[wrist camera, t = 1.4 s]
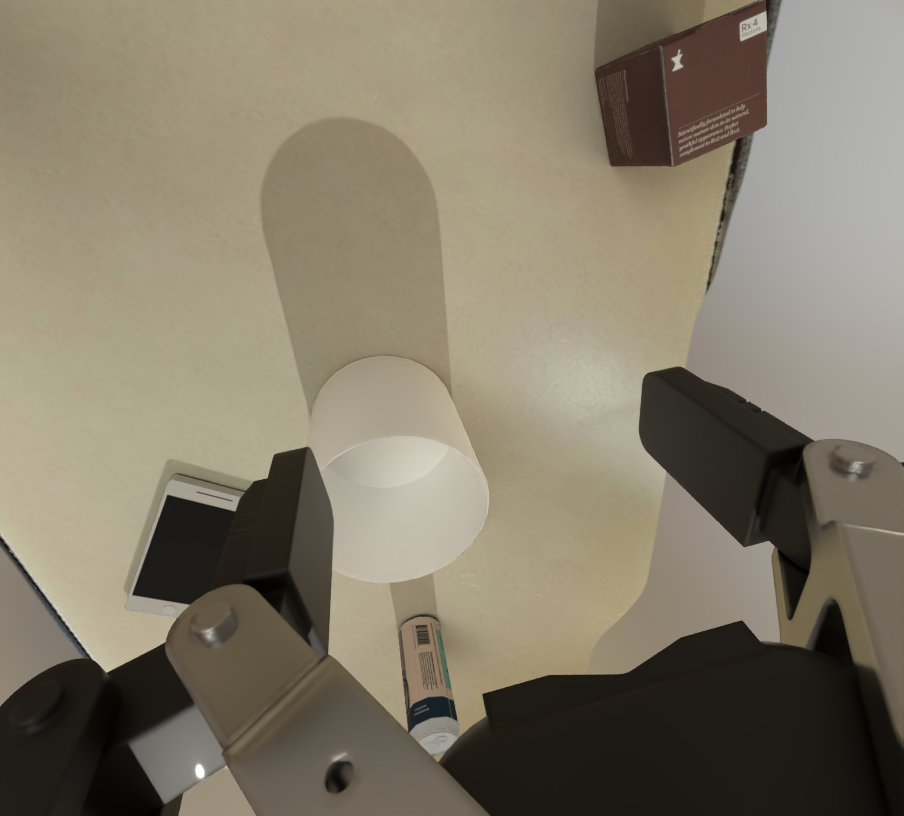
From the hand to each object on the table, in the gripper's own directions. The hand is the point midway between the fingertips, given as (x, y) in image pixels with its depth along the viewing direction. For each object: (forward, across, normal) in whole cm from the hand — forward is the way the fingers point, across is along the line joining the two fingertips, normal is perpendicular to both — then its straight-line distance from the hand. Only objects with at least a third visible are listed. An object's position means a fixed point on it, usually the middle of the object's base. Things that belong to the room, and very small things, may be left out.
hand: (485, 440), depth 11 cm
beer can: (+25, +5, +40) cm, 47 cm away
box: (+25, -18, -7) cm, 32 cm away
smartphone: (+25, +23, +22) cm, 40 cm away
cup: (+25, +4, +13) cm, 28 cm away
